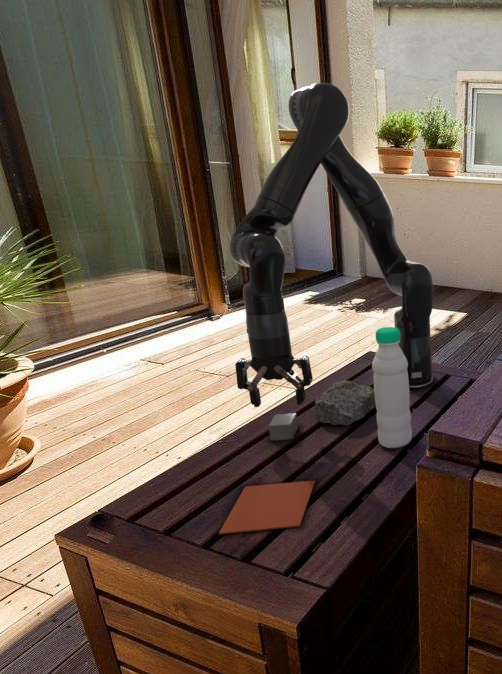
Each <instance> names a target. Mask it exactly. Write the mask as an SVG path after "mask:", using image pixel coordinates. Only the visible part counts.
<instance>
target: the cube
mask: <svg viewBox="0 0 502 674" xmlns="http://www.w3.org/2000/svg"><path fill="white" fill-rule="evenodd" d="M298 429H299V423H298V416H297V413H296V412H292V413H277V414H274V416H273V418H272V419H271V421H270V422H269V424H268V431H269V438H270V442H271V441H287V440H293V439H294V437H295V435H296V433H297V431H298Z"/></svg>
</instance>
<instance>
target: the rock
mask: <svg viewBox="0 0 502 674" xmlns="http://www.w3.org/2000/svg"><path fill="white" fill-rule="evenodd" d="M374 408H376V403H375V394H374V388H373V387H371V386H369V385H363V384H362V385H360V384H357V383H356V382H355V381H351V380H347V379H345V380H340V381H337V382H334V383H333V384H332V385H331V386H328V387H327V389H326V391H324V392H323V393H322V394H321V395H320V396H318V397H316V398H315V401H314V409H315V419H316V421H318V422H320V423H323V424H331V425H333V426H340V425H342V426H349V425H351V424H354V423H355V422H356V421H358V420H360V419H364V418H365V415H366V414H367V413H369V412H370V411H371V410H372V409H374Z"/></svg>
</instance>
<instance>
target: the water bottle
mask: <svg viewBox="0 0 502 674" xmlns="http://www.w3.org/2000/svg"><path fill="white" fill-rule="evenodd" d="M375 340H376V344H377V345H378V349H377V350H376V352H375V355H374V357H373V359H372V363H371V369H372V371H373V389H374V394H375V403H376V406H375V409H376V424H377V439H378V443H379V444H380V445H381V446H382V447H384V448H387V449H399V448H403V447H405V446H407V445H409V443H411V441H412V439H413V430H412V424H411V422H412V414H411V413H412V412H411V410H410V406H411V405H410V403H411V402H410V401H411V400H410V399H411V398H410V397H411V396H410V389H409V379H408V372H407V368H408V362H407V359H406V357H405V355H404V354H403V352H402V350H401V348H400V347H399V345H398V344H399V342H400V330H399V329H397V328H395V326H383V327H380V328H378V329H377V330H376V331H375Z"/></svg>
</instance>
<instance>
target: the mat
mask: <svg viewBox="0 0 502 674" xmlns="http://www.w3.org/2000/svg"><path fill="white" fill-rule="evenodd" d="M315 483H316V480H304V481H294V482H282V483H281V482H279V483H271V484H269V483H268V484H260V485H259V484H258V485H247V486H244V488H243V489H242V492H241V493H240V495H239V497H238V499H237V500H236V502H235V504H234V505H233V508H232V509H231V511H230V512H229V514H228V516H227V518H226V520H225V521H224V524H223V525H222V527H221V529H220V530H219V531H218V535H229V534H239V533H247V532H248V533H250V532H257V531H268V530H279V529H289V528H298V527H301V525H302V521H303V519H304V515H305V513H306V510H307V507H308V504H309V502H310V498H311V495H312V492H313V489H314V487H315Z"/></svg>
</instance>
